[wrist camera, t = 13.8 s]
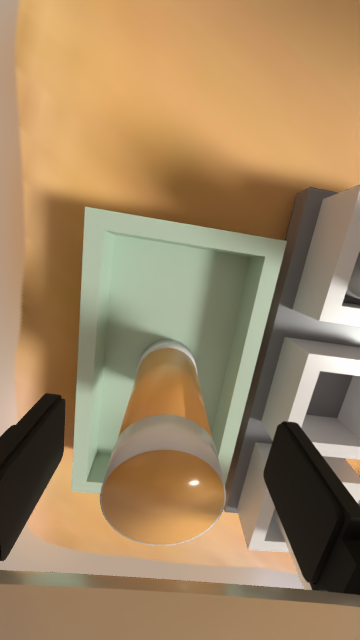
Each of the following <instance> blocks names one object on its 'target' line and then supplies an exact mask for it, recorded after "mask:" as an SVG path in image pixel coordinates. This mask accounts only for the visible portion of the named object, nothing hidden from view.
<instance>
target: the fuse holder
mask: <svg viewBox="0 0 360 640" xmlns="http://www.w3.org/2000/svg"><path fill="white" fill-rule="evenodd" d="M285 241H287V243H286V247H285V251H284V255H283V259H282V263H281V267H280V271H279V275H278V279H277V283H276V286H275V290H274V294H273V298H272V302H271V306H270V310H269V314H268V318H267V322H266V326H265V330H264V334H263V338H262V342H261V346H260V350H259V354H258V358H257V362H256V365H255V369H254V373H253V377H252V381H251V385H250V389H249V393H248V397H247V401H246V405H245V409H244V413H243V417H242V421H241V425H240V429H239V433H238V437H237V441H236V444H235V448H234V452H233V456H232V460H231V464H230V468H229V472H228V476H227V480H226V484H225V490H226V501H225V506H224V511H225V512H231V513H238V514H239V518H240V521H241V525H242V529H243V533H244V536H245V540H246V544H247V548H248V550H259V551H274V552H289V550H288V548H287V545H286V543H285V540H284V538H283V535H282V533H281V531H280V528H279V526H278V523H277V521H276V518H275V516H274V513H273V512H274V509H275V506H274V503H273V501H272V498H271V496H270V494H269V491H268V489H267V486H266V484H265V481H264V477H263V472H264V468H265V465H266V462H267V458H268V455H269V452H270V448H271V445H272V442H273V439H274V435H275V432H276V429H277V426H278V425H279V424H281V423H282V422H283V421H288V422H296V423H298V424H299V426H300V427H301V428H302V430H303V431H304V432H305V434H306V435H307V436H308V438H309V439H310V440H311V442H312V443H313V444H314V446H315V447H316V448H317V450H318V451H319V452H320V454H321V455H322V456H323V458H324V459H325V460H326V462H327V463H328V464H329V466H330V467H331V468H332V470H333V471H334V472H335V474H336V475H337V476H338V478H339V479H340V480H341V482H342V483H343V485H344V486H345V487H346V489H347V490H348V491H349V493H350V494H351V495H352V497H353V498H354V499H355V501H356V502H357V503H359V501H360V476H359V475H358V474H357V473H356V472H355V470H354V469H353V468H352V467H351V466H350V465H349V464H348V462H347V461H346V460H345V459H346V458H348V459H358V460H360V299H358V298H353V297H348V296H345V294H346V291H347V288H348V285H349V282H350V279H351V276H352V272H353V269H354V266H355V263H356V260H357V257H358V254H359V251H360V185H358V186H355V187H353V188H350V189H348V190H345V191H343V192H340V193H337V192H332V191H327V190H321V189H316V188H311V187H310V188H308V189H306V190H304V191H302V192H300V193H298V194H297V196H296V200H295V204H294V208H293V212H292V216H291V220H290V224H289V228H288V232H287V236H286V240H285Z"/></svg>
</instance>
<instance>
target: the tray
mask: <svg viewBox="0 0 360 640" xmlns="http://www.w3.org/2000/svg"><path fill="white" fill-rule="evenodd" d="M286 243H287V241H284V240H278V239H272V238H266V237H261V236H255V235H249V234H243V233H237V232H231V231H225V230H219V229H214V228H208V227H202V226H196V225H190V224H184V223H178V222H173V221H167V220H161V219H155V218H149V217H143V216H137V215H131V214H126V213H120V212H114V211H108V210H102V209H96V208H90V207H85V217H84V238H83V259H82V280H81V301H80V322H79V342H78V363H77V384H76V405H75V426H74V447H73V467H72V488H71V491H72V492H85V493H97V494H100V493H101V488H102V484H103V481H104V478H105V474H106V471H107V468H108V464H109V461H110V458H111V454H112V451H113V448H114V445H115V443H116V441H117V439H118V435H119V432H120V429H121V425H122V422H123V418H124V415H125V412H126V408H127V405H128V401H129V398H130V395H131V391H132V388H133V384H134V381H135V378H136V374H137V368H138V365H139V362H140V358H141V355H142V353H143V352H144V350H145V349H146V348H147V347H148V346H149V345H150V344H152V343H154V342H156V341H159V340H163V339H172V340H176V341H179V342H181V343H183V344H185V345H186V346H187V347H188V348H189V349H190V350H191V352H192V354H193V356H194V359H195V363H196V368H197V375H198V379H199V384H200V388H201V392H202V397H203V401H204V405H205V409H206V414H207V418H208V422H209V427H210V431H211V435H212V440H213V442H214V444H215V447H216V451H217V455H218V459H219V464H220V468H221V472H222V476H223V480H224V484H226V480H227V476H228V472H229V468H230V464H231V460H232V456H233V452H234V448H235V444H236V441H237V437H238V433H239V429H240V425H241V421H242V417H243V413H244V409H245V405H246V401H247V397H248V393H249V389H250V385H251V381H252V377H253V373H254V369H255V365H256V362H257V358H258V354H259V350H260V346H261V342H262V338H263V334H264V330H265V326H266V322H267V318H268V314H269V310H270V306H271V302H272V298H273V294H274V290H275V286H276V283H277V279H278V275H279V271H280V267H281V263H282V259H283V255H284V251H285V247H286Z"/></svg>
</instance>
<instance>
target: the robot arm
mask: <svg viewBox="0 0 360 640" xmlns="http://www.w3.org/2000/svg"><path fill="white" fill-rule="evenodd" d="M64 425H65V399H62V398H61V395H56V394H45V395H43V397H42V398H41V399H40V400H39V401H38V402H37V403H36V404H35V405H34V406H33V407H32V408H31V409H30V410H29V411H28V412H27V413H26V415H25V416H24V417H23V418H22V419H21V420H20V421H19V422H18V423H17V424H16V425H13V426H11V427H10V428H9V429H8V430H6V431H5V433H4V434H3V435H2V436H1V437H0V561H4V560H5V559H6V558H7V556H8V555H9V553H10V551H11V549H12V548H13V546H14V544H15V542H16V540H17V539H18V537H19V535H20V533H21V531H22V529H23V528H24V526H25V524H26V522H27V521H28V519H29V517H30V515H31V513H32V512H33V510H34V508H35V506H36V504H37V503H38V501H39V499H40V497H41V495H42V494H43V492H44V490H45V488H46V486H47V485H48V483H49V481H50V479H51V477H52V476H53V474H54V472H55V470H56V468H57V467H58V465H59V463H60V461H61V459H62V456H63V452H64ZM263 477H264V481H265V484H266V486H267V489H268V491H269V494H270V496H271V498H272V501H273V503H274V506H275V508H276V511H277V513H278V516H279V518H280V521H281V523H282V526H283V528H284V531H285V533H286V536H287V538H288V540H289V543H290V545H291V548H292V550H293V553H294V555H295V558H296V560H297V563H298V565H299V568H300V570H301V573H302V575H303V577H304V579H305V580H306V581H307V582H308V583H310V585H311V588H312V590H304V589H291V588H278V587H264V586H251V585H238V584H223V583H210V582H209V583H208V582H195V581H181V580H166V579H152V578H136V577H120V576H119V577H118V576H103V575H87V574H71V573H55V572H31V571H6V570H0V640H360V506H359V505H358V503H357V502H356V501H355V499H354V498H353V497H352V495H351V494H350V493H349V491H348V490H347V489H346V487H345V486H344V485H343V483H342V482H341V480H340V479H339V478H338V476H337V475H336V474H335V472H334V471H333V470H332V468H331V467H330V466H329V464H328V463H327V462H326V460H325V459H324V458H323V456H322V455H321V454H320V452H319V451H318V450H317V448H316V447H315V446H314V444H313V443H312V442H311V440H310V439H309V438H308V436H307V435H306V434H305V432H304V431H303V430H302V428H301V427H300V426H299V424H298V423H296V422H288V421H283V422H282V423H281V424H279V425H278V426H277V429H276V432H275V435H274V439H273V442H272V445H271V448H270V452H269V455H268V458H267V462H266V465H265V468H264V472H263Z"/></svg>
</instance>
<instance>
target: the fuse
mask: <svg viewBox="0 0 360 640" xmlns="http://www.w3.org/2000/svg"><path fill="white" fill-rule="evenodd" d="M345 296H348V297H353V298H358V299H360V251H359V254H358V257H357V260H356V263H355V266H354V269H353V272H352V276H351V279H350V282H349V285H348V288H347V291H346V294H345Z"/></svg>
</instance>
